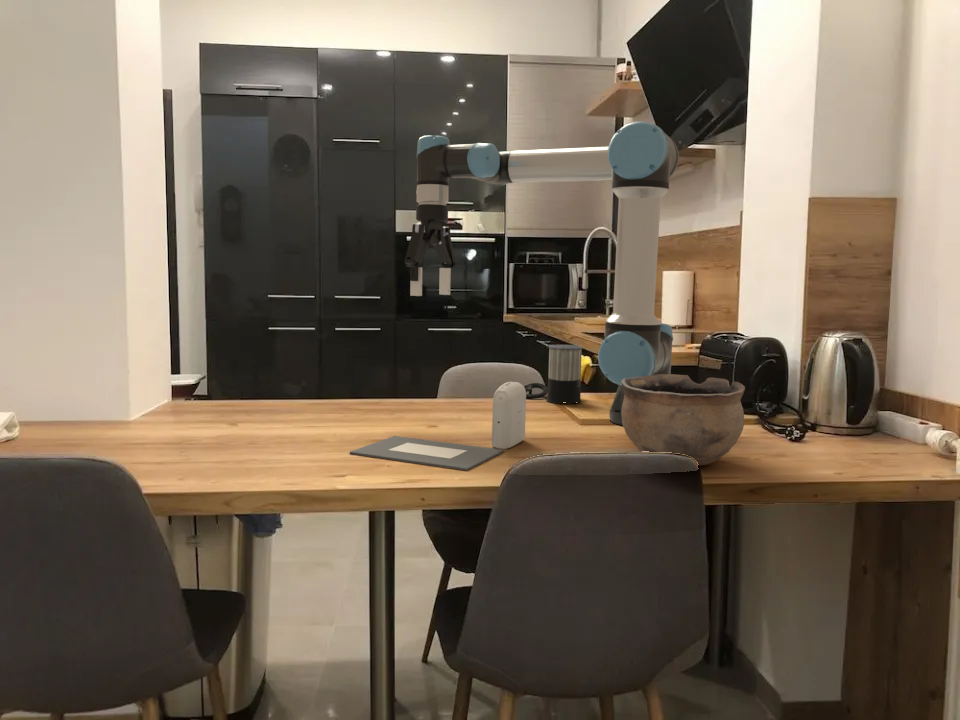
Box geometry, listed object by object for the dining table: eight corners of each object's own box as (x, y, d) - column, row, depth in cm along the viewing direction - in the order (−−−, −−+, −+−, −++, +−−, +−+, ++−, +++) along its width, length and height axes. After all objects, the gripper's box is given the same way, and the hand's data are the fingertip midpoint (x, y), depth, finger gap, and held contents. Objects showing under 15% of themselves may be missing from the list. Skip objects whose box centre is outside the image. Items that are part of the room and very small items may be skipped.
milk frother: (583, 405, 202) (585, 348, 201) (522, 404, 202) (524, 346, 200) (575, 396, 216) (578, 343, 215) (519, 395, 216) (520, 341, 214)
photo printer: (509, 450, 150) (511, 386, 148) (488, 447, 151) (490, 384, 150) (527, 440, 159) (529, 380, 158) (507, 437, 161) (509, 378, 159)
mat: (503, 451, 148) (504, 449, 148) (467, 470, 133) (467, 467, 133) (394, 437, 158) (394, 435, 158) (349, 453, 143) (349, 451, 143)
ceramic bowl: (763, 464, 143) (768, 383, 141) (704, 485, 128) (709, 395, 126) (658, 443, 159) (661, 370, 157) (594, 460, 143) (597, 379, 141)
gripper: (444, 208, 196) (442, 293, 199) (389, 200, 174) (388, 295, 176) (470, 208, 193) (468, 294, 195) (418, 199, 171) (417, 296, 173)
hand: (430, 295), depth 186 cm, fingers open, 13 cm apart
